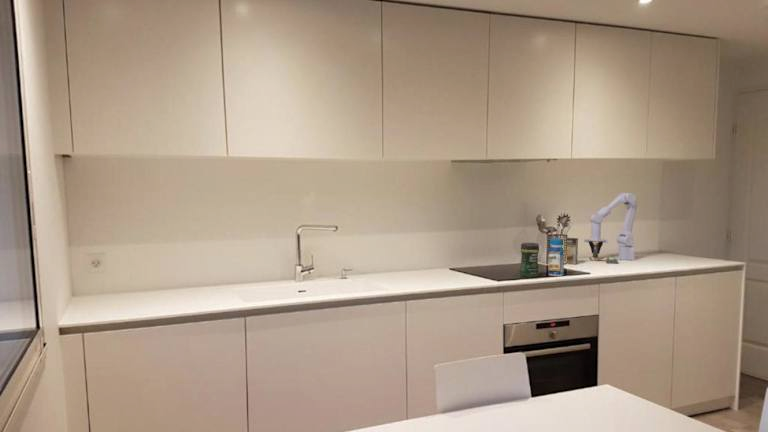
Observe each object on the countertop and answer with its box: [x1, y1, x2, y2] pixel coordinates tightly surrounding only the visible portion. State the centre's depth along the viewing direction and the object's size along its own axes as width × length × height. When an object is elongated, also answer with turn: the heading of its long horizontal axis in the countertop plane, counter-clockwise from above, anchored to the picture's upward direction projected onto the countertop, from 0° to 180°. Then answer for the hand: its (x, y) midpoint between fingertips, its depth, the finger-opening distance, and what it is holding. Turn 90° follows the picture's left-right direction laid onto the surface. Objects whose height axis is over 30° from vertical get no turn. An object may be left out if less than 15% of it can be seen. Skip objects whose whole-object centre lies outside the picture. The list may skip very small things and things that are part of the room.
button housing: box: [605, 258, 619, 265], centre depth 331 cm, size 6×6×2 cm
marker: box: [592, 242, 599, 258], centre depth 344 cm, size 3×3×10 cm
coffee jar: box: [519, 242, 540, 278], centre depth 286 cm, size 10×8×19 cm
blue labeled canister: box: [547, 238, 565, 277], centre depth 289 cm, size 8×8×20 cm
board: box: [588, 256, 609, 262], centre depth 343 cm, size 12×10×1 cm
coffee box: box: [566, 237, 579, 265], centre depth 330 cm, size 9×6×16 cm
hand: (595, 253), depth 344 cm, fingers closed on marker, 3 cm apart
